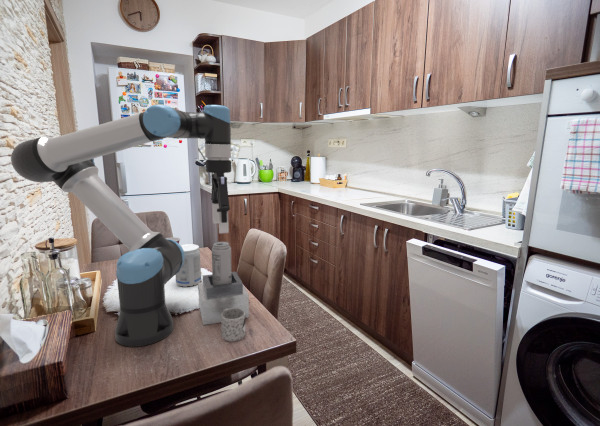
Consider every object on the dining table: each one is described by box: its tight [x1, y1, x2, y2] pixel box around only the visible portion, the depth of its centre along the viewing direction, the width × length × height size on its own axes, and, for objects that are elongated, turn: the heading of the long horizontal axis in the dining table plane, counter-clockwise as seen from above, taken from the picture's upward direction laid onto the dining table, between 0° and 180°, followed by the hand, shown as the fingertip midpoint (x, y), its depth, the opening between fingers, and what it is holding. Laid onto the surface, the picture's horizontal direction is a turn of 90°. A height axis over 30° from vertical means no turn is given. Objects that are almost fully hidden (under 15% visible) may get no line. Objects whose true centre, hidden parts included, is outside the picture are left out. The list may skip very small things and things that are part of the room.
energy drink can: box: [211, 241, 233, 286], centre depth 105 cm, size 6×6×15 cm
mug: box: [220, 308, 246, 342], centre depth 95 cm, size 10×7×7 cm
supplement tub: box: [175, 243, 202, 288], centre depth 129 cm, size 10×10×15 cm
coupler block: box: [197, 271, 250, 326], centre depth 107 cm, size 14×14×11 cm
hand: (220, 227), depth 103 cm, fingers open, 13 cm apart
